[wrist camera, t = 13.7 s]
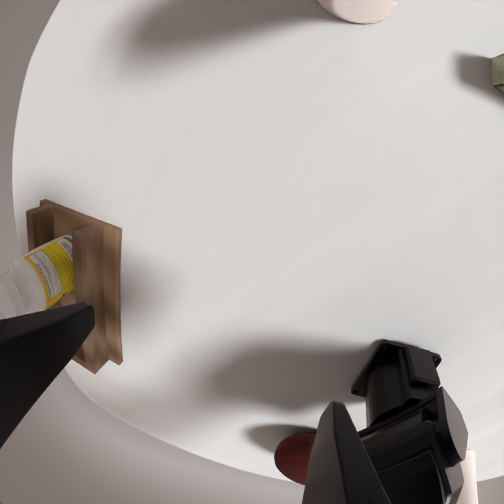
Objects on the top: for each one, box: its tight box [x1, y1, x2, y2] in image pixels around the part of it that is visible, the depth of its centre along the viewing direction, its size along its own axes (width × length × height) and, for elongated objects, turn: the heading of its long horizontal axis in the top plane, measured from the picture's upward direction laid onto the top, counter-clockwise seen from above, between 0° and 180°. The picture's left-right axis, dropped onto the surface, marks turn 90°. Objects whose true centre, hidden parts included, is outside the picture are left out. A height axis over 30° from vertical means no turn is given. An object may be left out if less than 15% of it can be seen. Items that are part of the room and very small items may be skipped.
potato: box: [274, 433, 316, 485], centre depth 25 cm, size 7×10×6 cm
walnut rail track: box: [26, 199, 123, 374], centre depth 26 cm, size 17×12×4 cm
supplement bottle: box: [0, 235, 75, 318], centre depth 21 cm, size 5×5×10 cm
